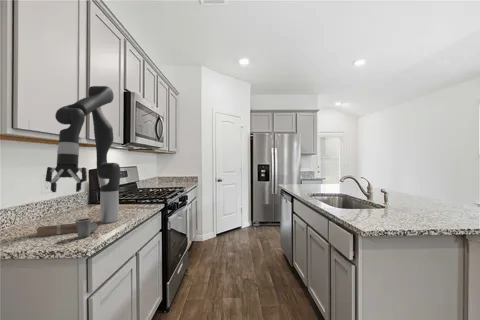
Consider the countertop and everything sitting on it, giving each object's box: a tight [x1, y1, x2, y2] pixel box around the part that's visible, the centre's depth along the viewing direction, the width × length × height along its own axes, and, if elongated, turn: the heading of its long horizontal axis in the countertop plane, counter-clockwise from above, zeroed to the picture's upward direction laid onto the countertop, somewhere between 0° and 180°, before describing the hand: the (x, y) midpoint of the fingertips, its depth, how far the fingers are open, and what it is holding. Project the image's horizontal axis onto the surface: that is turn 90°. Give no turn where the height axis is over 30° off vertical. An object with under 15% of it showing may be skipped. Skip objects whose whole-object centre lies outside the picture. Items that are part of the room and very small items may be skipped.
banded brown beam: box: [36, 222, 78, 238], centre depth 120 cm, size 4×20×4 cm, turn 121°
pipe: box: [74, 217, 98, 239], centre depth 116 cm, size 6×13×8 cm, turn 2°
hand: (65, 192), depth 105 cm, fingers open, 8 cm apart
